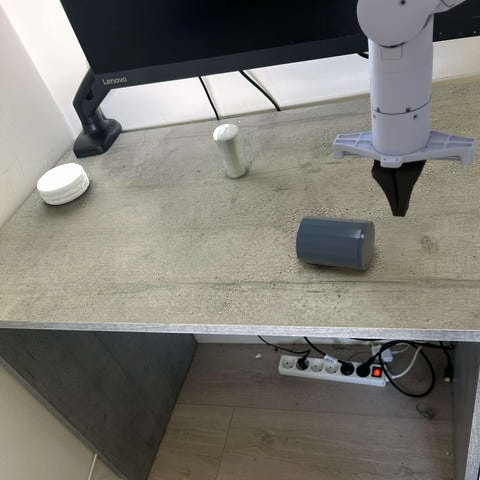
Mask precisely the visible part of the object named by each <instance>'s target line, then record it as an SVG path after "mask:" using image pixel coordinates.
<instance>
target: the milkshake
mask: <svg viewBox="0 0 480 480" xmlns="http://www.w3.org/2000/svg"><path fill="white" fill-rule="evenodd" d="M240 126H241V120H239V123H238V126H237V125H236V124H234V123H224V124H221V125H219V126H217V127H216V129H215V130H214V131H213V139H214V141H215V143H216V146H217V149H218V152H219V153H220V157H221V159H222V161H223V165H224V167H225V169H226V172H227V175H228V177H230V178H232V179H239V178H240V177H243V176H244V175H245V174H246V165H245V159H244V153H243V148H242V141H241V133H240Z"/></svg>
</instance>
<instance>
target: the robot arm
mask: <svg viewBox="0 0 480 480" xmlns="http://www.w3.org/2000/svg"><path fill="white" fill-rule="evenodd" d="M465 1H466V0H358V1H357V5H356V16H357V22H358V24H359V27H360V29H361V31H362V32H363V34H364V35H365V36H366V37H367V42H368V45H367V46H368V72H369V73H368V75H369V76H368V77H369V79H368V80H369V98H370V117H371V118H370V119H371V130H368V131H361V132H355V133H346V134H345V133H341V134H340V133H339V134H338V133H337V136H336V137H335V138H334V140H333V142H332V143H331V145H332V155H333V159H335V160H342V159H344V158H345V157H358V158H359V157H362V158H369V159H373V165H372V166H371V169H370V173H371V177H372V179H373V180H374V181H375V182H376V183H377V184H378V186H379V187H380V189H381V190H382V191H383V194H384V195H385V197H386V200H387V202H388V204H389V207H390V212H391V214H392V216H393V217H396V218H398V217H399V218H405V217H406V215H407V213H408V210H409V208H410V202H411V197H412V194H413V190H414V187H415V185H416V183H417V182H418V180H419V178H420V177H421V174H422V173H423V170H424V168H425V166H426V163H427V161H429V160H430V161H447V162H448V161H449V162H450V161H451V162H459V163H460V165H461V166H472V165H473V162H474V159H475V156H476V153H477V152H476V151H477V143H478V142H477V141H478V138H477V137H472V136H463V135H457V134H453V133H447V132H443V131H438V130H434V129H431V119H432V118H431V116H432V115H431V113H432V91H433V69H434V68H433V66H434V43H433V37H434V36H433V35H434V16H435V15H434V14H436V13H437V14H438V13H442V12H447V11H449V10H451V9H453V8H454V7H456V6H458V5H460V4H461V3H463V2H465Z"/></svg>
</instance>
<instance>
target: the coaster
mask: <svg viewBox="0 0 480 480" xmlns="http://www.w3.org/2000/svg"><path fill="white" fill-rule="evenodd" d="M89 185H90V179H89V177H88V176H87V173H86V172H85V170H84V168H83V167H82V166H81V165H80V164H77V163H67V164H62V165H59V166H56V167H54V168H52V169H50V170H49V171H47V172H46V173H45V174H43V175H42V177H40V178H39V180H38V182H37V183H36V189H37V191H38V193H40V196H41V197H42V199H43V201H44V202H45V203H46V204H49V205H53V206H54V205H55V206H57V205H63V204H67V203H69V202H72V201H74V200H76V199H77V198H79V197H80V196H82V195H83V194H84V193H85V192H86V190H87V189H88V188H89Z"/></svg>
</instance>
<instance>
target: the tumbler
mask: <svg viewBox="0 0 480 480" xmlns="http://www.w3.org/2000/svg"><path fill="white" fill-rule="evenodd" d="M375 239H376V228H375V224H374V222H373V221H372V220H365V219H353V218H344V217H343V218H341V217H329V216H318V215H305V216H304V217H302V219H301V221H300V222H299V225H298V229H297V231H296V238H295V254H296V258H297V260H298V261H299V262H300V263H305V264H306V263H307V264H314V265H321V266H322V265H323V266H330V267H336V268H337V267H338V268H344V269H345V268H346V269H353V270H360V271H366V270H367V269H368V268H369V266H370V263H371V261H372V257H373V253H374V249H375V241H376V240H375Z"/></svg>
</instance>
